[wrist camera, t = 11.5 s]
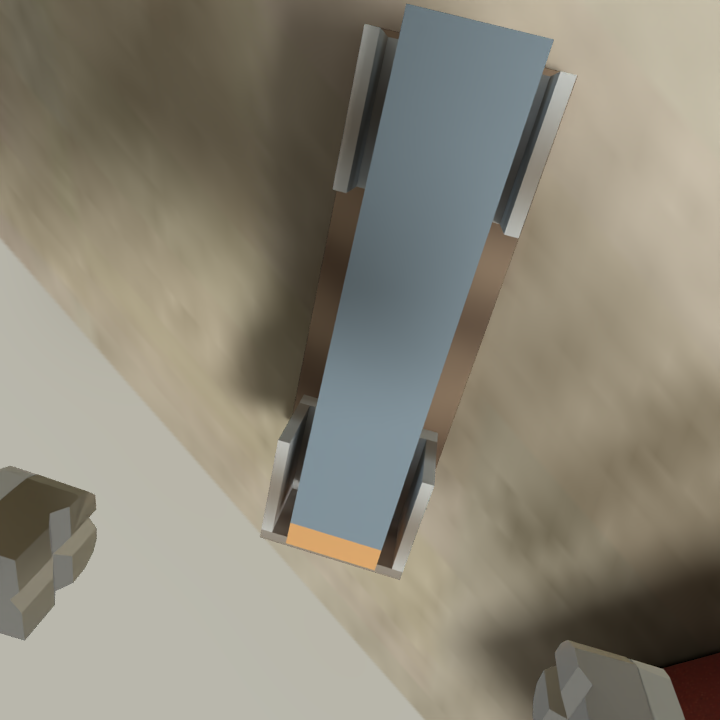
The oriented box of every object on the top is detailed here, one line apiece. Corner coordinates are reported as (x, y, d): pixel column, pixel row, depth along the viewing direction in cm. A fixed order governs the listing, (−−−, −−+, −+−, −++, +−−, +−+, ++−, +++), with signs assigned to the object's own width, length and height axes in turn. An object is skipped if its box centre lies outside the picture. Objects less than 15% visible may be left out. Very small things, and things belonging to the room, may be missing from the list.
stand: (374, 30, 24) (322, -25, 15) (570, 78, 23) (641, 51, 14) (295, 421, 33) (234, 533, 24) (433, 462, 33) (424, 591, 24)
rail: (417, 27, 18) (406, 3, 14) (534, 56, 17) (553, 39, 14) (309, 485, 26) (285, 543, 23) (386, 508, 26) (374, 570, 23)
